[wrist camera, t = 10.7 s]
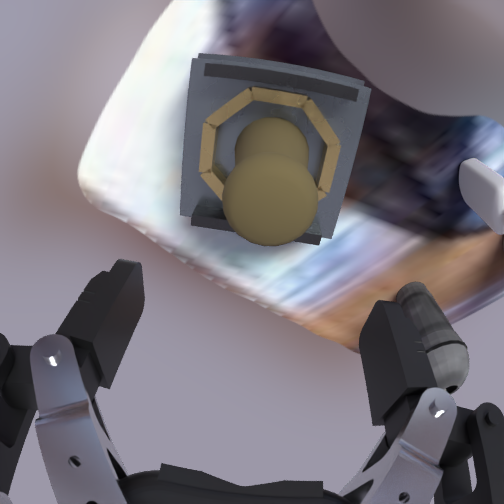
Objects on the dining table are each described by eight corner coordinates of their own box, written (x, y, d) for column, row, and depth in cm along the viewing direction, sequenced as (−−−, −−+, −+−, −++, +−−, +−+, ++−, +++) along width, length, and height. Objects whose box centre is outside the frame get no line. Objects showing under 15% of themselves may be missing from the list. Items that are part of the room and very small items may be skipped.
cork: (288, 198, 27) (293, 279, 18) (222, 169, 26) (192, 237, 17) (322, 138, 24) (353, 190, 15) (253, 104, 23) (238, 133, 14)
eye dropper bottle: (489, 162, 27) (554, 210, 17) (476, 205, 31) (531, 263, 21) (462, 153, 28) (528, 201, 18) (448, 199, 31) (503, 259, 21)
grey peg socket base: (362, 80, 25) (386, 86, 19) (327, 219, 33) (338, 256, 28) (200, 53, 25) (179, 51, 19) (187, 197, 33) (168, 230, 27)
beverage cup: (427, 312, 40) (472, 435, 23) (381, 316, 41) (415, 449, 24) (441, 272, 36) (505, 400, 20) (392, 274, 37) (444, 417, 20)
